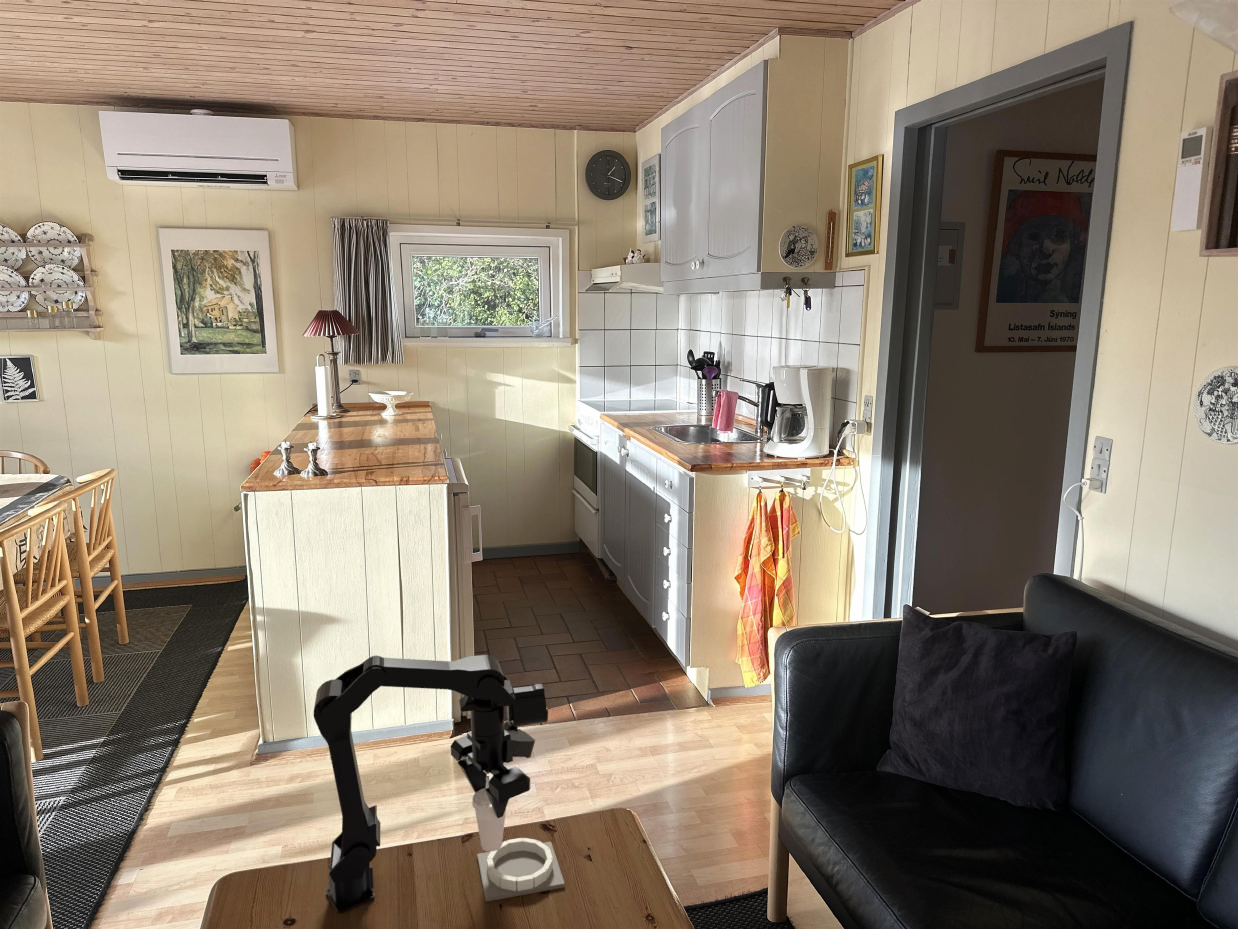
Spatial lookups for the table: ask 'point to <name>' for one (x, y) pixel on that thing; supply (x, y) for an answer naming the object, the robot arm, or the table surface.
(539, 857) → the socket board
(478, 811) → the smoothie
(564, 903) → the table surface
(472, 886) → the table surface
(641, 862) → the table surface
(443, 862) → the table surface
